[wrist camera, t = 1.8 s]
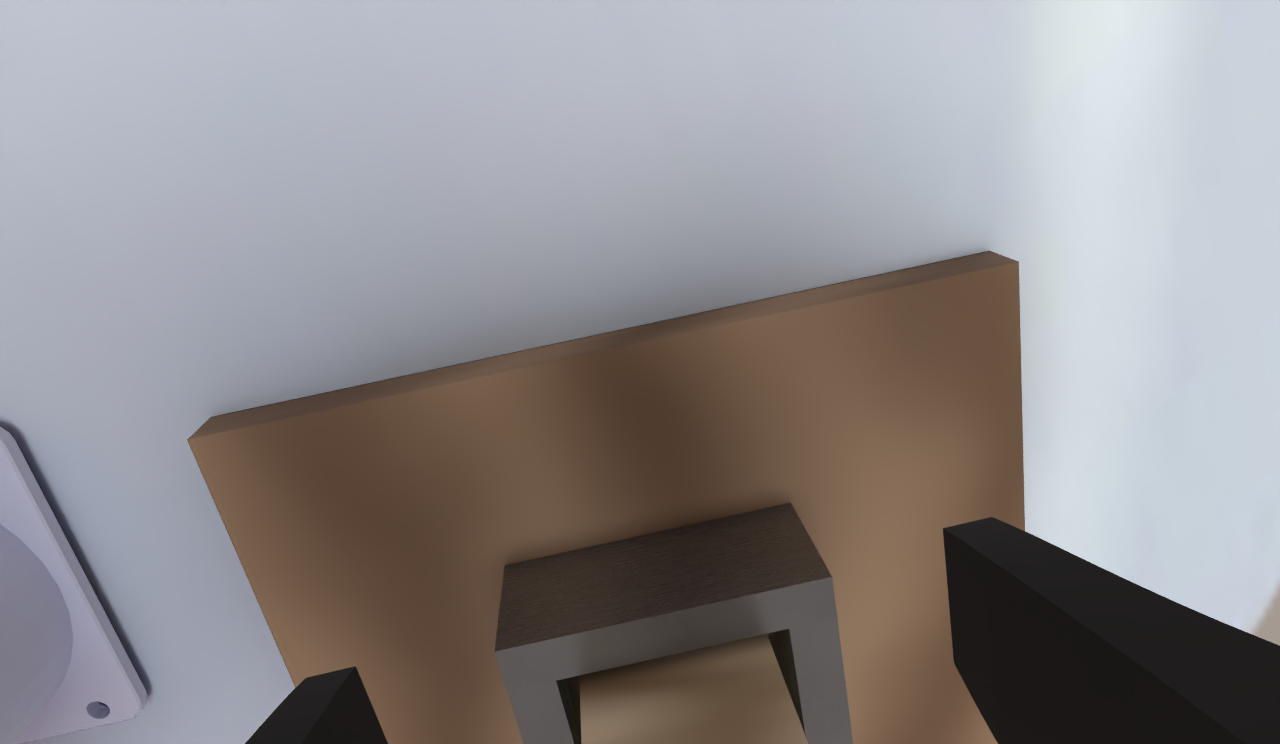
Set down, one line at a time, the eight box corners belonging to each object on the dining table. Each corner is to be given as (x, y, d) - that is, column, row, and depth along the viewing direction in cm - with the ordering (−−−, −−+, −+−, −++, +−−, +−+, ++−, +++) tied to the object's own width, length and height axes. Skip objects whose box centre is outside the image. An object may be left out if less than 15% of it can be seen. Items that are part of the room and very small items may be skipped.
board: (416, 906, 23) (408, 948, 22) (210, 417, 18) (187, 439, 17) (1008, 770, 24) (1031, 804, 23) (990, 251, 18) (1018, 261, 17)
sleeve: (573, 796, 21) (575, 906, 18) (504, 565, 18) (494, 651, 15) (824, 739, 21) (865, 839, 18) (791, 502, 18) (832, 577, 16)
